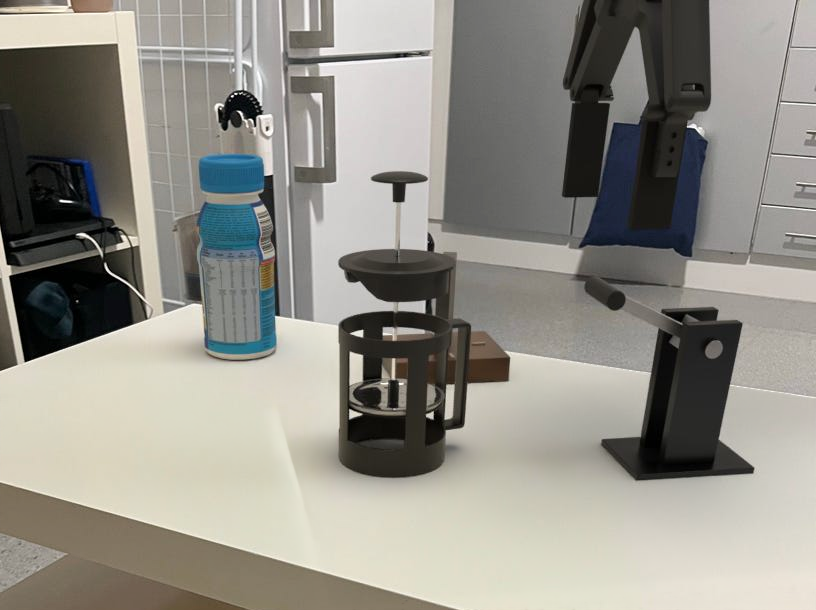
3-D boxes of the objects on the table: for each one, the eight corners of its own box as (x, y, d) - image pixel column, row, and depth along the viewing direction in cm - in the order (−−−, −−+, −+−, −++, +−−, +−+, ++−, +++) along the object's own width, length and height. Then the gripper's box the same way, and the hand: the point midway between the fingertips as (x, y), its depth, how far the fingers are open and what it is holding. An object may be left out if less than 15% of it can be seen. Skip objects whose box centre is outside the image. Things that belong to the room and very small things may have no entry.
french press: (354, 498, 81) (356, 185, 69) (312, 457, 88) (308, 168, 76) (484, 476, 84) (508, 176, 72) (434, 438, 92) (448, 160, 80)
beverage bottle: (221, 366, 110) (208, 164, 100) (192, 346, 117) (177, 155, 106) (290, 354, 114) (285, 159, 103) (258, 336, 120) (250, 150, 109)
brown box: (483, 353, 114) (485, 329, 113) (508, 380, 106) (510, 355, 104) (378, 357, 113) (379, 333, 111) (395, 386, 104) (396, 360, 103)
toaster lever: (600, 312, 75) (617, 281, 74) (577, 296, 79) (593, 266, 78) (716, 369, 79) (734, 340, 78) (688, 350, 83) (705, 323, 82)
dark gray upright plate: (439, 338, 110) (443, 249, 105) (452, 339, 110) (457, 249, 105) (433, 351, 106) (437, 259, 101) (446, 352, 106) (451, 259, 101)
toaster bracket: (634, 492, 82) (661, 332, 75) (599, 455, 88) (620, 305, 82) (751, 484, 83) (788, 326, 76) (707, 448, 90) (737, 300, 83)
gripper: (541, -135, 73) (513, 186, 84) (691, -191, 52) (627, 247, 63) (641, -133, 73) (599, 184, 85) (828, -187, 53) (740, 244, 64)
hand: (611, 212), depth 74 cm, fingers open, 13 cm apart
